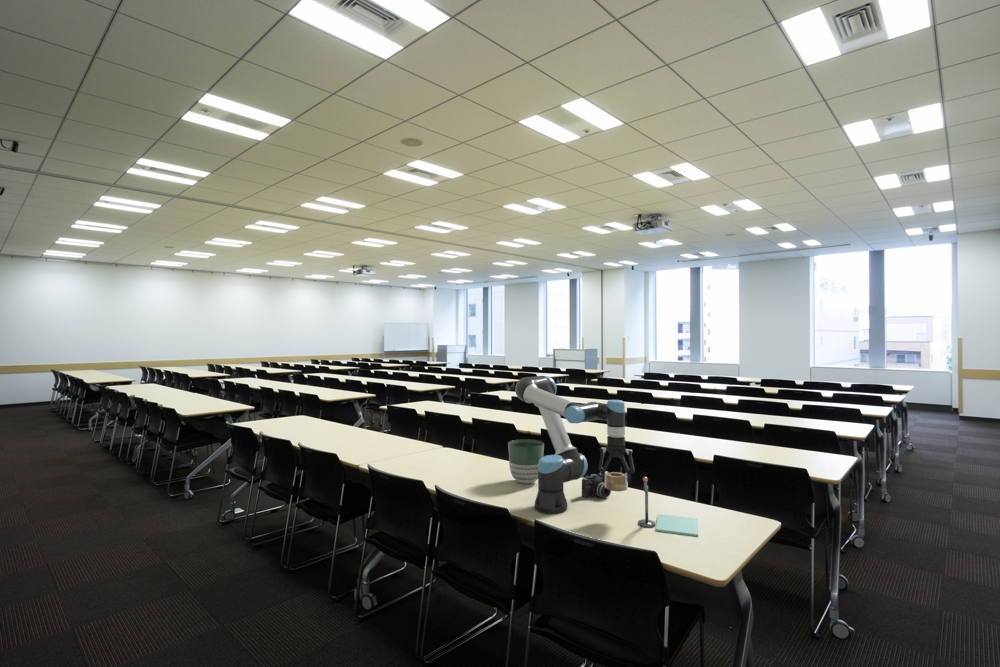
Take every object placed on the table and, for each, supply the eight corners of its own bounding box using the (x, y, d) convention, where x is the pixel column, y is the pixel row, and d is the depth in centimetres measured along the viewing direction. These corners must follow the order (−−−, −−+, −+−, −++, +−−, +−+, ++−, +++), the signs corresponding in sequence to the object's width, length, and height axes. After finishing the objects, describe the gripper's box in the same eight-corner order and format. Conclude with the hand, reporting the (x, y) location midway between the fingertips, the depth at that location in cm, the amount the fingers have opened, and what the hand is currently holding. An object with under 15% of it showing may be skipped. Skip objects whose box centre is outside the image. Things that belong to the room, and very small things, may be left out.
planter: (506, 478, 275) (506, 439, 275) (540, 476, 277) (540, 438, 277) (510, 488, 256) (510, 447, 256) (547, 487, 258) (547, 446, 258)
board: (655, 531, 199) (655, 529, 199) (658, 515, 216) (658, 513, 216) (698, 536, 194) (698, 534, 194) (697, 520, 210) (697, 518, 210)
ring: (605, 490, 212) (605, 476, 212) (608, 484, 219) (608, 471, 219) (624, 492, 209) (624, 478, 209) (626, 486, 216) (626, 473, 216)
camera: (596, 502, 234) (595, 481, 235) (579, 496, 243) (579, 476, 243) (615, 496, 243) (615, 476, 243) (599, 490, 252) (598, 471, 252)
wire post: (636, 529, 201) (636, 476, 201) (638, 520, 211) (638, 470, 211) (654, 531, 199) (654, 478, 199) (655, 522, 208) (655, 471, 209)
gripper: (590, 435, 214) (590, 487, 214) (639, 439, 207) (640, 493, 207) (593, 432, 221) (594, 482, 221) (641, 435, 214) (641, 487, 214)
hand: (616, 487), depth 214 cm, fingers closed on ring, 8 cm apart
